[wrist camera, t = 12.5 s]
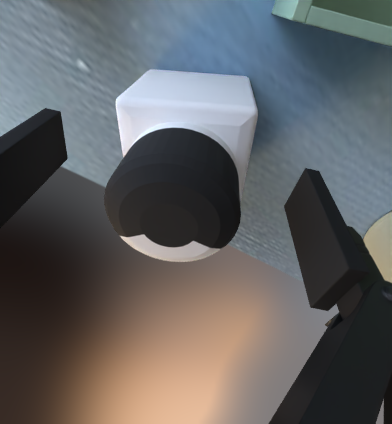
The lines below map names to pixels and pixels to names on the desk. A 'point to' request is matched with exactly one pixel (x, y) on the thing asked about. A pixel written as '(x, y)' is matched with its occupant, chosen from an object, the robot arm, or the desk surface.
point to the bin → (342, 16)
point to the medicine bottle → (181, 162)
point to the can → (381, 245)
